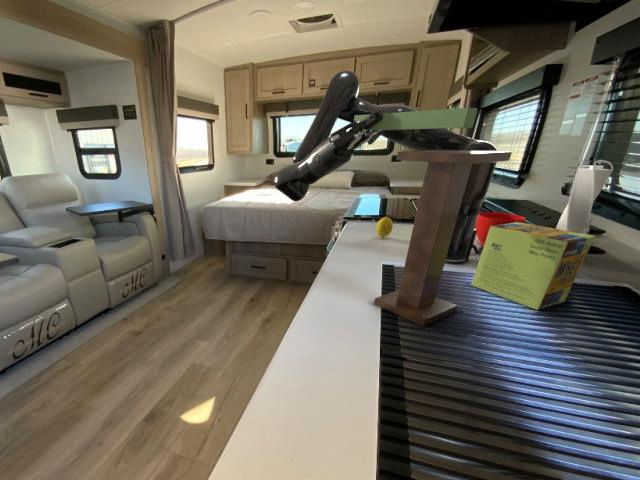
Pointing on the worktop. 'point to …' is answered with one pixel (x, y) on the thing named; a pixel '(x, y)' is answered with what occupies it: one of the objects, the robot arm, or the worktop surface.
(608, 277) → the worktop surface
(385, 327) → the worktop surface
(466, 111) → the sage bar
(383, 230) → the lemon
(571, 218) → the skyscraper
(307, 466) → the worktop surface
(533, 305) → the protein box
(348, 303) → the worktop surface
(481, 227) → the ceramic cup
